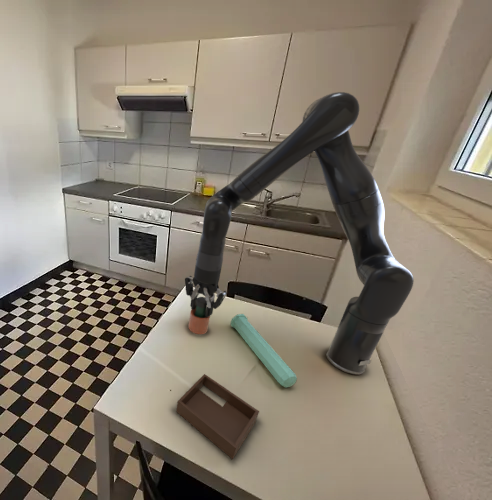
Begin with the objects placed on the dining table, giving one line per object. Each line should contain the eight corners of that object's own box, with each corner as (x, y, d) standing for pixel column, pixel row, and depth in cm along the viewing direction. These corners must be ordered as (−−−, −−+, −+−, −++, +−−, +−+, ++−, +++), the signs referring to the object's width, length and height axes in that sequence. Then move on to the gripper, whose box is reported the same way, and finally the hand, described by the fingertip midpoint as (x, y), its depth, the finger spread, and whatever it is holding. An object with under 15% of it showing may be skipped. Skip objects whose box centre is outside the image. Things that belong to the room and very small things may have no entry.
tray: (202, 383, 72) (204, 373, 70) (255, 421, 63) (259, 411, 62) (176, 411, 64) (177, 401, 63) (232, 459, 56) (236, 448, 54)
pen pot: (195, 320, 96) (197, 305, 93) (210, 329, 92) (213, 313, 89) (184, 328, 91) (186, 312, 89) (200, 338, 88) (203, 321, 85)
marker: (196, 323, 94) (201, 295, 89) (204, 328, 92) (210, 299, 87) (190, 327, 91) (195, 299, 87) (199, 332, 89) (204, 303, 85)
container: (301, 371, 69) (245, 310, 91) (280, 381, 69) (228, 318, 91) (302, 385, 72) (247, 323, 94) (282, 395, 72) (231, 330, 94)
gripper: (237, 269, 80) (226, 317, 87) (195, 253, 89) (188, 298, 96) (224, 277, 75) (214, 328, 82) (181, 259, 84) (175, 306, 91)
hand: (200, 311), depth 89 cm, fingers open, 4 cm apart
